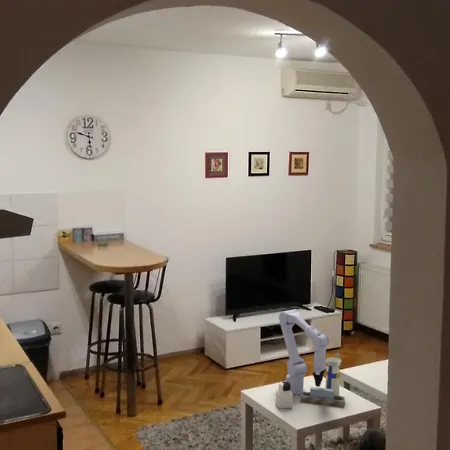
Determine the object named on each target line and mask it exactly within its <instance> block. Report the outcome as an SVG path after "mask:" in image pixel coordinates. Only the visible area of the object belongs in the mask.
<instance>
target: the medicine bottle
mask: <svg viewBox="0 0 450 450" xmlns="http://www.w3.org/2000/svg"><path fill="white" fill-rule="evenodd" d="M290 389H291V384H290V383H289V382H286V380H283V381H280V382H279V383H278V389H275V405H276V406H277V407H278V408H279V409H293V407H294V406H293V404H294V403H293V401H294V394H292V393H291V391H290Z"/></svg>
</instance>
